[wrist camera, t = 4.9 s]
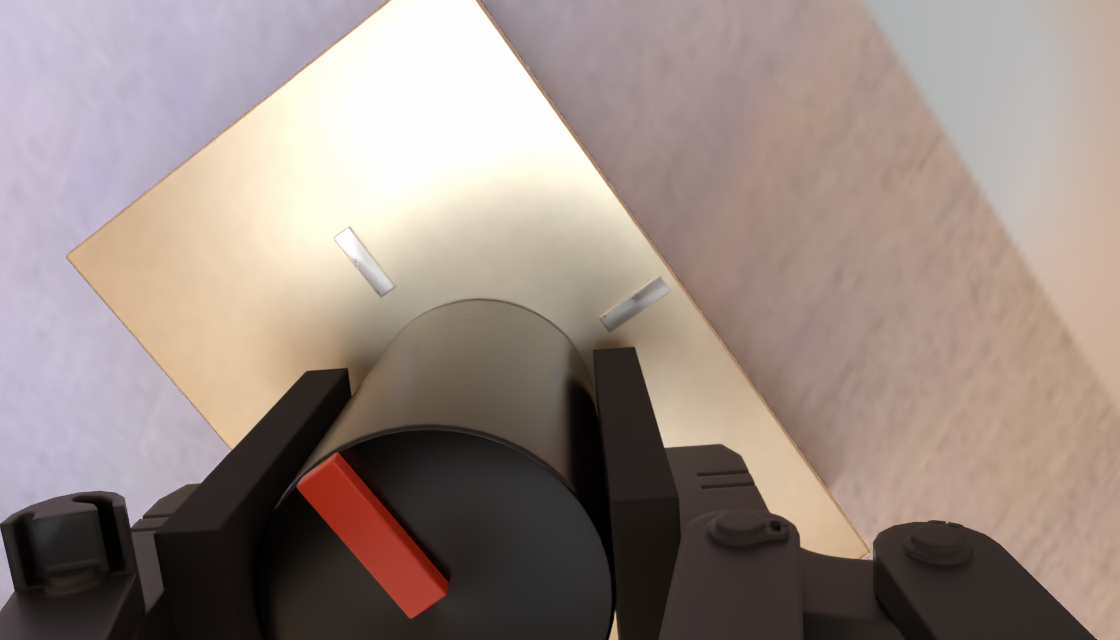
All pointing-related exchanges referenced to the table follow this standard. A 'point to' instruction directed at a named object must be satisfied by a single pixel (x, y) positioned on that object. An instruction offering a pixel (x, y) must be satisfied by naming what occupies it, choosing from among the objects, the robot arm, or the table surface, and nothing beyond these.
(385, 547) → the hob knob
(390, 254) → the panel
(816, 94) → the table surface
